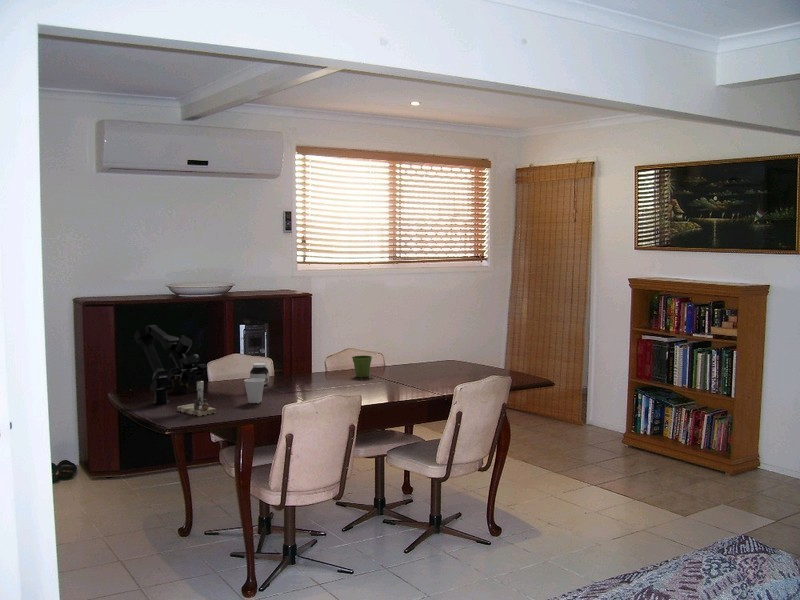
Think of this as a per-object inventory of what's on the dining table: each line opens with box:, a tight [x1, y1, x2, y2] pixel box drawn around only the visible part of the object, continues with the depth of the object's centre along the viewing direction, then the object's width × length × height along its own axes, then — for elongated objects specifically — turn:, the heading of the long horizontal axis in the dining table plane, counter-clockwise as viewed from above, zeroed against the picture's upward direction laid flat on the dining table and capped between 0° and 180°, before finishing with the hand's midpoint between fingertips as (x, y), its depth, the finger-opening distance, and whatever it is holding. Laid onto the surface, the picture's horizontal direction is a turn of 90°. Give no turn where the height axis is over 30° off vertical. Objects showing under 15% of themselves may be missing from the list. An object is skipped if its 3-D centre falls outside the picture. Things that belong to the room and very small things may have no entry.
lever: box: [196, 380, 205, 406], centre depth 364 cm, size 3×3×11 cm
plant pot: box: [351, 355, 373, 379], centre depth 456 cm, size 12×12×11 cm
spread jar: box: [249, 362, 270, 387], centre depth 432 cm, size 12×11×12 cm
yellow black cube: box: [172, 375, 200, 394], centre depth 416 cm, size 10×10×10 cm
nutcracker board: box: [176, 398, 217, 417], centre depth 367 cm, size 18×9×6 cm, turn 48°
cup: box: [243, 378, 265, 404], centre depth 387 cm, size 10×10×11 cm
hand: (195, 386), depth 367 cm, fingers closed
